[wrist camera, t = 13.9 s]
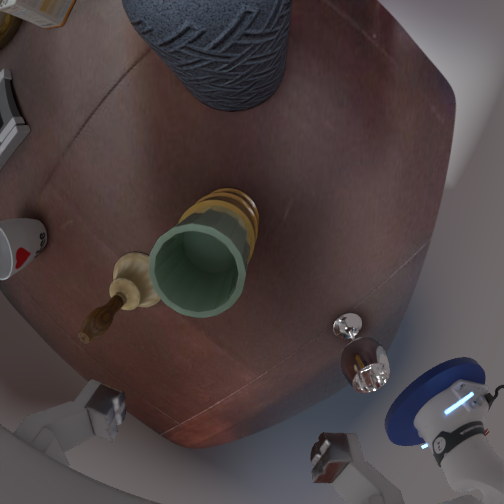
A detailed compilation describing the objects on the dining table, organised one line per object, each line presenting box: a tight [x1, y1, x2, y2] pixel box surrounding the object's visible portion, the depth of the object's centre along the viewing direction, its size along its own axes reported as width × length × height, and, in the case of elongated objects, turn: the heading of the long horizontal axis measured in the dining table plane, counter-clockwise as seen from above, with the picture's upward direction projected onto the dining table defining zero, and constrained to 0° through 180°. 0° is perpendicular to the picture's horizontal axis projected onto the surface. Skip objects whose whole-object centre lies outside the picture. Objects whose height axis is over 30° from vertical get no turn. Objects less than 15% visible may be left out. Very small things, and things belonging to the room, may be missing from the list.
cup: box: [0, 218, 47, 280], centre depth 33 cm, size 8×8×10 cm
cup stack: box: [178, 188, 259, 262], centre depth 31 cm, size 8×8×11 cm
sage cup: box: [148, 206, 251, 318], centre depth 22 cm, size 6×6×8 cm
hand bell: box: [79, 252, 161, 344], centre depth 32 cm, size 8×8×16 cm
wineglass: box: [333, 313, 390, 393], centre depth 35 cm, size 6×6×12 cm
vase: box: [122, 0, 292, 111], centre depth 17 cm, size 12×12×28 cm
